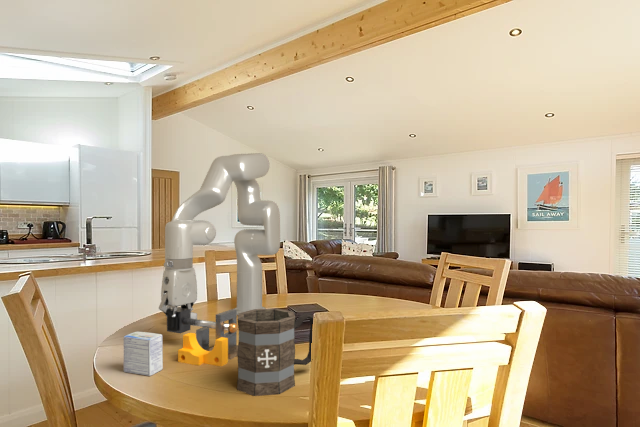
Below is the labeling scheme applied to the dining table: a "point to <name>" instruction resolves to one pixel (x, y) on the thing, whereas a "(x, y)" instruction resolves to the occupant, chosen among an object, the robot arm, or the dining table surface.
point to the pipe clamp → (203, 352)
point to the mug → (268, 350)
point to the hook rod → (196, 322)
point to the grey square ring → (220, 333)
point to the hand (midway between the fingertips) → (178, 327)
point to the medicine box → (143, 353)
